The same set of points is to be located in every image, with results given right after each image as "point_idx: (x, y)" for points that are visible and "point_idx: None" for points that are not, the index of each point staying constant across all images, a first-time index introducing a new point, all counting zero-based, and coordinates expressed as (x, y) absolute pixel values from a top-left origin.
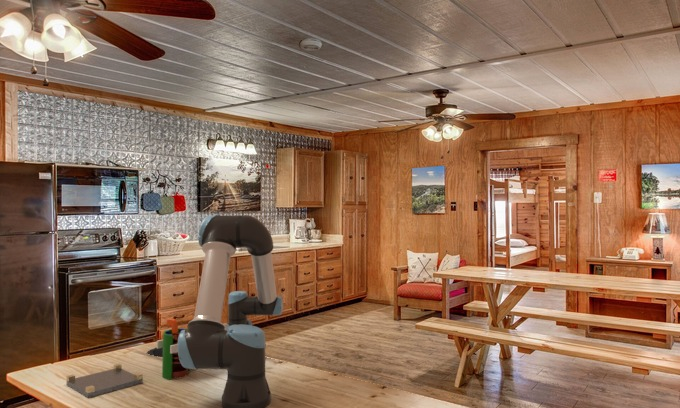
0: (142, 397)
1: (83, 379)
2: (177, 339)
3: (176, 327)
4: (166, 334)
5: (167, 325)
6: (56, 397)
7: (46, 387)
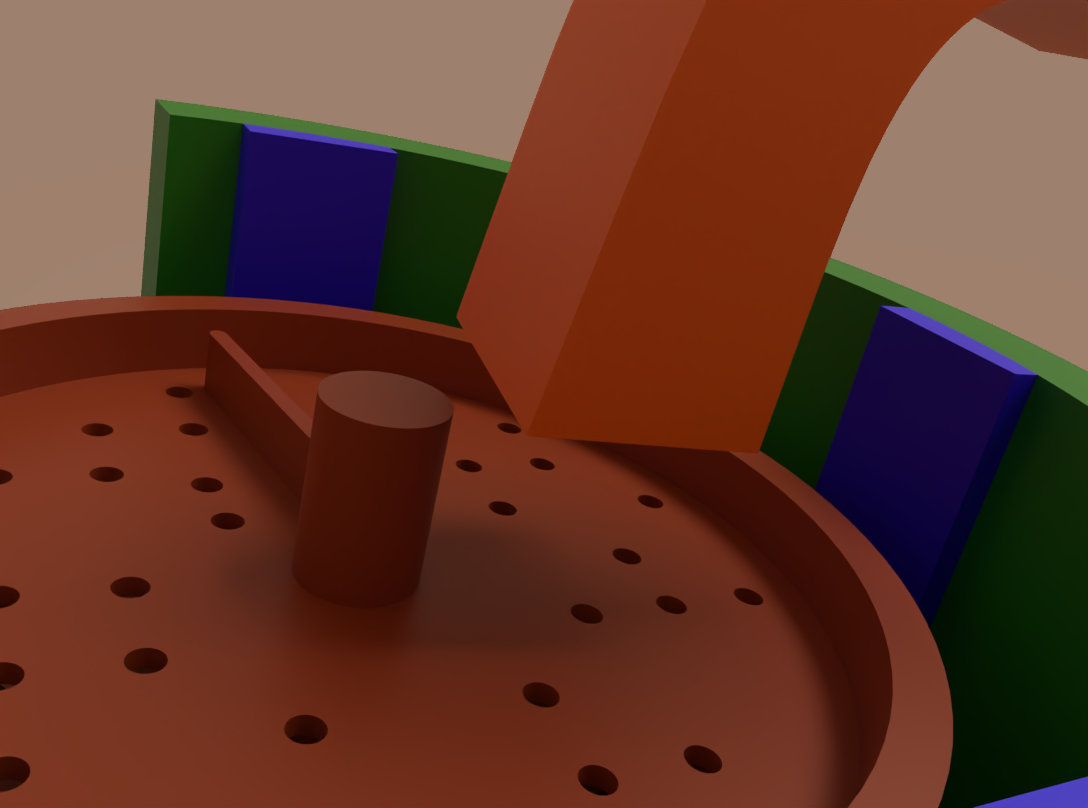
0: None
1: None
2: (39, 369)
3: (625, 58)
4: (447, 153)
5: (1003, 29)
6: None
7: None
